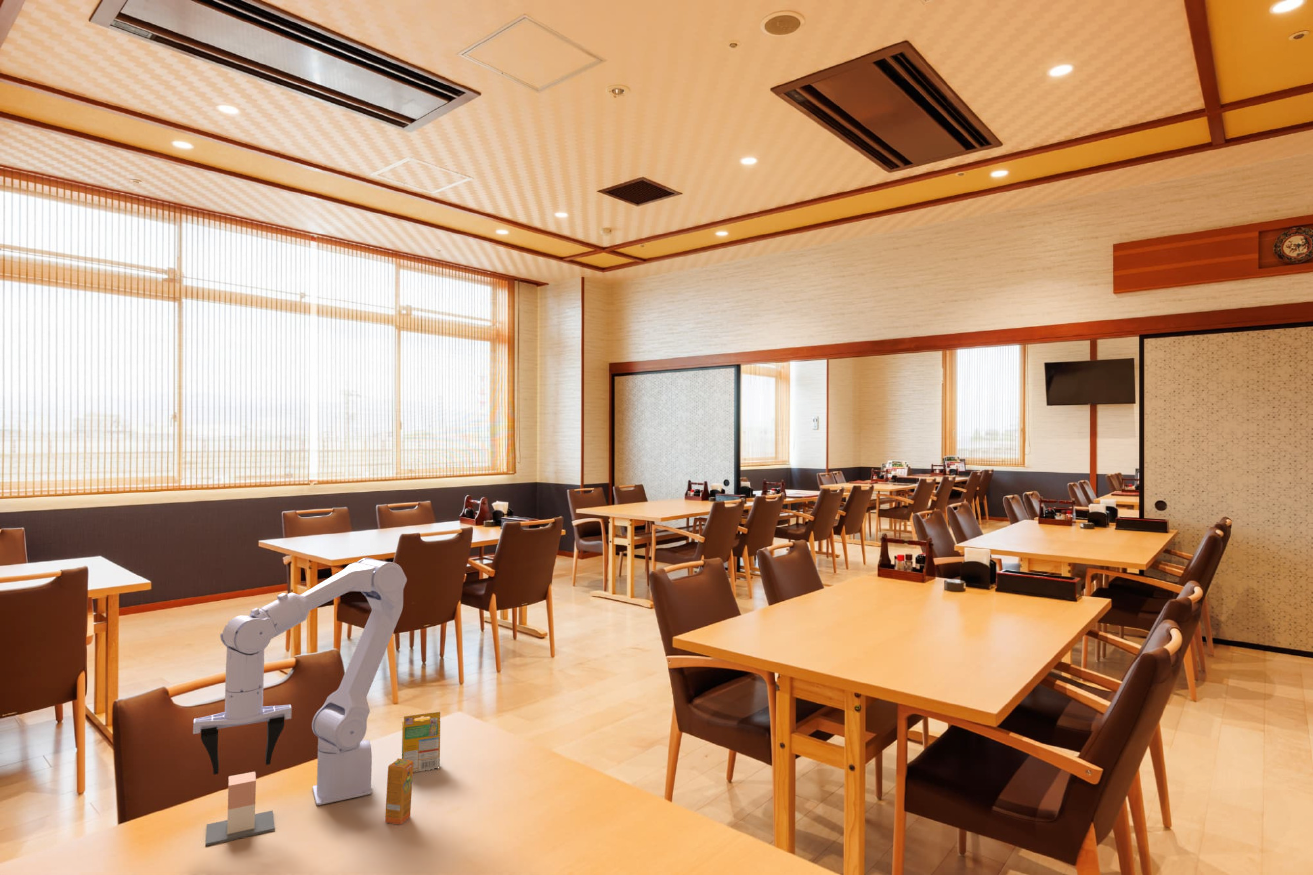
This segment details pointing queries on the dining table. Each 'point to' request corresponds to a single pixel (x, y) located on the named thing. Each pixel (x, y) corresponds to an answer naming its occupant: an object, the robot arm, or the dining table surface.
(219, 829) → the build mat
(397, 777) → the supplement box
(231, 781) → the terracotta block
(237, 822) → the cream block
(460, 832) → the dining table surface
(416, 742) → the crayon box
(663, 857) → the dining table surface
